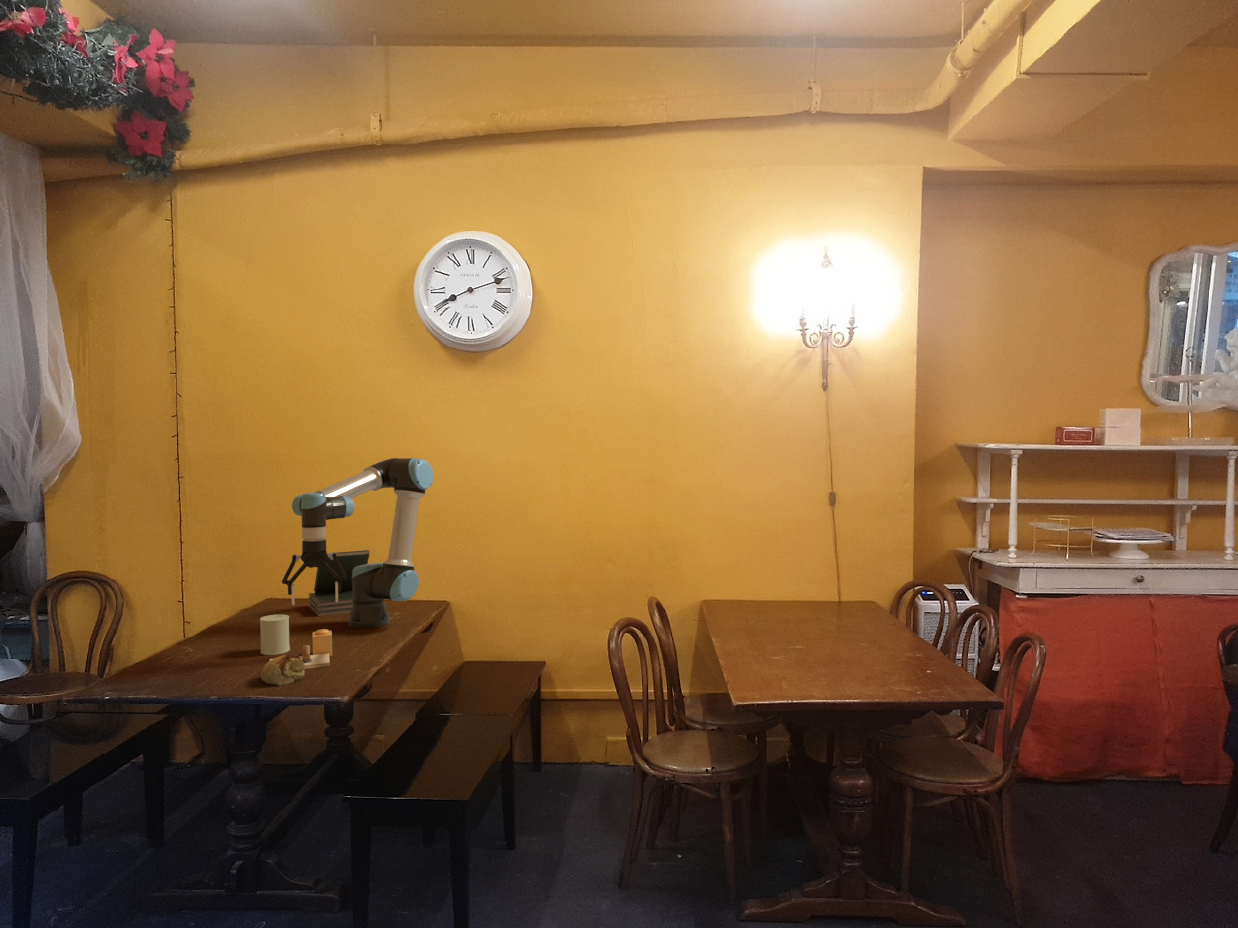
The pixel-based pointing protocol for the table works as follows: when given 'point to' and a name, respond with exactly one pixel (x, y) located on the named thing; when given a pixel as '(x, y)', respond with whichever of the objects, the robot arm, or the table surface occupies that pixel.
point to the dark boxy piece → (325, 584)
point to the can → (274, 634)
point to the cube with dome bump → (322, 642)
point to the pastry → (283, 670)
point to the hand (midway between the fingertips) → (315, 602)
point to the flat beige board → (313, 658)
